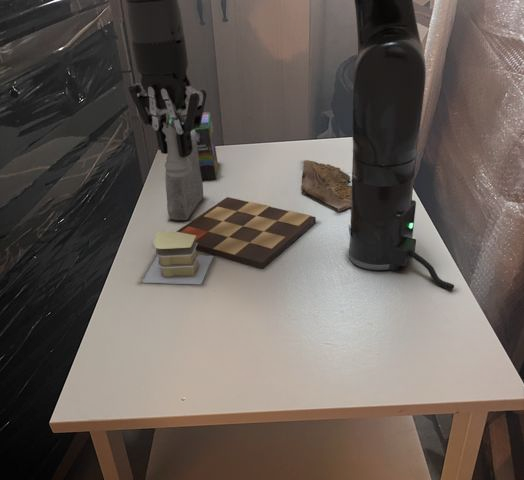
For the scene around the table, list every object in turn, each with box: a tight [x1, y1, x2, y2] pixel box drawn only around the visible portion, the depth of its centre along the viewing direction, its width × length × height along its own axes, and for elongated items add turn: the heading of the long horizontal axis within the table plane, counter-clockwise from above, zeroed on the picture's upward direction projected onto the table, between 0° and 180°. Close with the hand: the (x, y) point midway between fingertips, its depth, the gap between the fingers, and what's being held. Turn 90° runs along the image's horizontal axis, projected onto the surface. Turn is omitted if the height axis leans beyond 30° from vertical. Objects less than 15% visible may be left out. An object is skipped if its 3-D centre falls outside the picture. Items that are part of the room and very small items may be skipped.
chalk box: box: [168, 108, 219, 181], centre depth 125 cm, size 9×9×15 cm
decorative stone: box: [164, 130, 204, 221], centre depth 111 cm, size 11×6×15 cm, turn 168°
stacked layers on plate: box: [141, 230, 214, 285], centre depth 96 cm, size 10×9×6 cm
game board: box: [175, 196, 317, 270], centre depth 106 cm, size 20×18×1 cm
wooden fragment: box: [300, 159, 352, 214], centre depth 120 cm, size 26×11×1 cm, turn 9°
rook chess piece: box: [162, 120, 193, 177], centre depth 93 cm, size 4×4×8 cm
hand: (176, 153), depth 94 cm, fingers closed on rook chess piece, 3 cm apart
